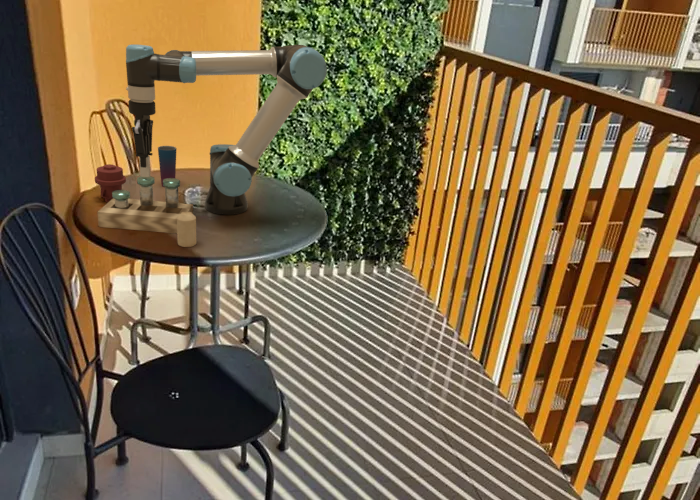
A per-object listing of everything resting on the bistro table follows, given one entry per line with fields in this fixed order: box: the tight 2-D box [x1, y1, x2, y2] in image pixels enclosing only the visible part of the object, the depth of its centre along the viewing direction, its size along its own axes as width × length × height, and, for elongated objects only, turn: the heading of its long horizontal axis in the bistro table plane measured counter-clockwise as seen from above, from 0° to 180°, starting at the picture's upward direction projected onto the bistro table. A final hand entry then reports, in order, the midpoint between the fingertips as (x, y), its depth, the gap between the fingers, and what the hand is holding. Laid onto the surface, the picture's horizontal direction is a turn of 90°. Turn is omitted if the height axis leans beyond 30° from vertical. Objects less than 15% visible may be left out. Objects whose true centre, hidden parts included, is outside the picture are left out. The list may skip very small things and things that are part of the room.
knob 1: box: [112, 189, 131, 209], centre depth 174 cm, size 5×5×8 cm
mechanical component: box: [94, 164, 127, 203], centre depth 189 cm, size 12×10×10 cm
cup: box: [157, 145, 177, 188], centre depth 209 cm, size 7×7×15 cm
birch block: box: [97, 198, 194, 234], centre depth 175 cm, size 26×14×5 cm, turn 92°
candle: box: [176, 212, 197, 248], centre depth 163 cm, size 6×6×10 cm
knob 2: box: [162, 177, 181, 208], centre depth 173 cm, size 5×5×8 cm
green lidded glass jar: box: [136, 175, 156, 206], centre depth 172 cm, size 5×5×8 cm
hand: (145, 176), depth 170 cm, fingers closed
